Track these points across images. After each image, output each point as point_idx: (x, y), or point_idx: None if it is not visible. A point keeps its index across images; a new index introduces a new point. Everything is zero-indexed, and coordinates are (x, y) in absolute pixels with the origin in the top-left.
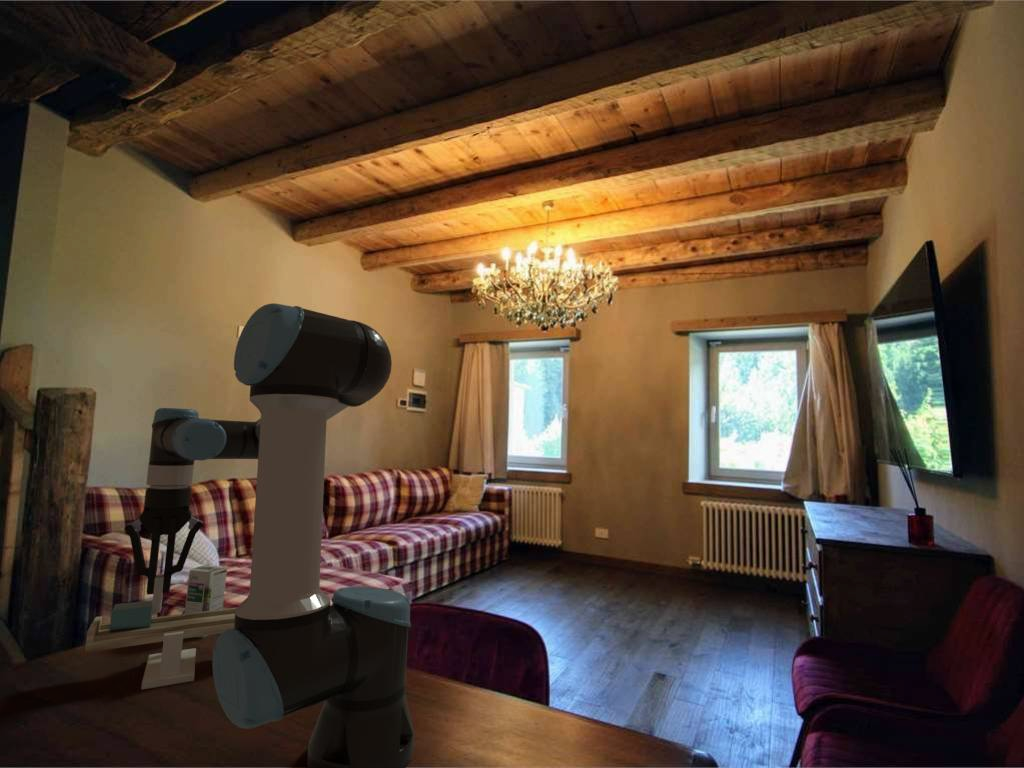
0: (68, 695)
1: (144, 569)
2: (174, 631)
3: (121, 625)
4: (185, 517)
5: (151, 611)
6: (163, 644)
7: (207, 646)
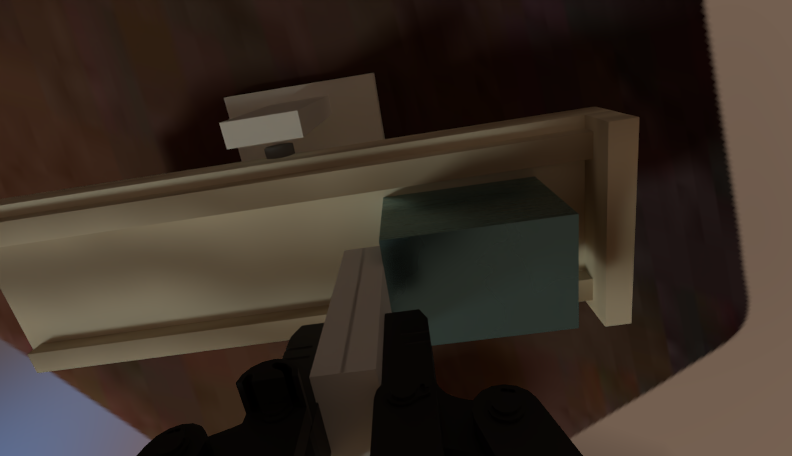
0: (571, 94)
1: (480, 435)
2: (270, 164)
3: (501, 195)
4: None
5: None
6: (304, 106)
7: (269, 346)
